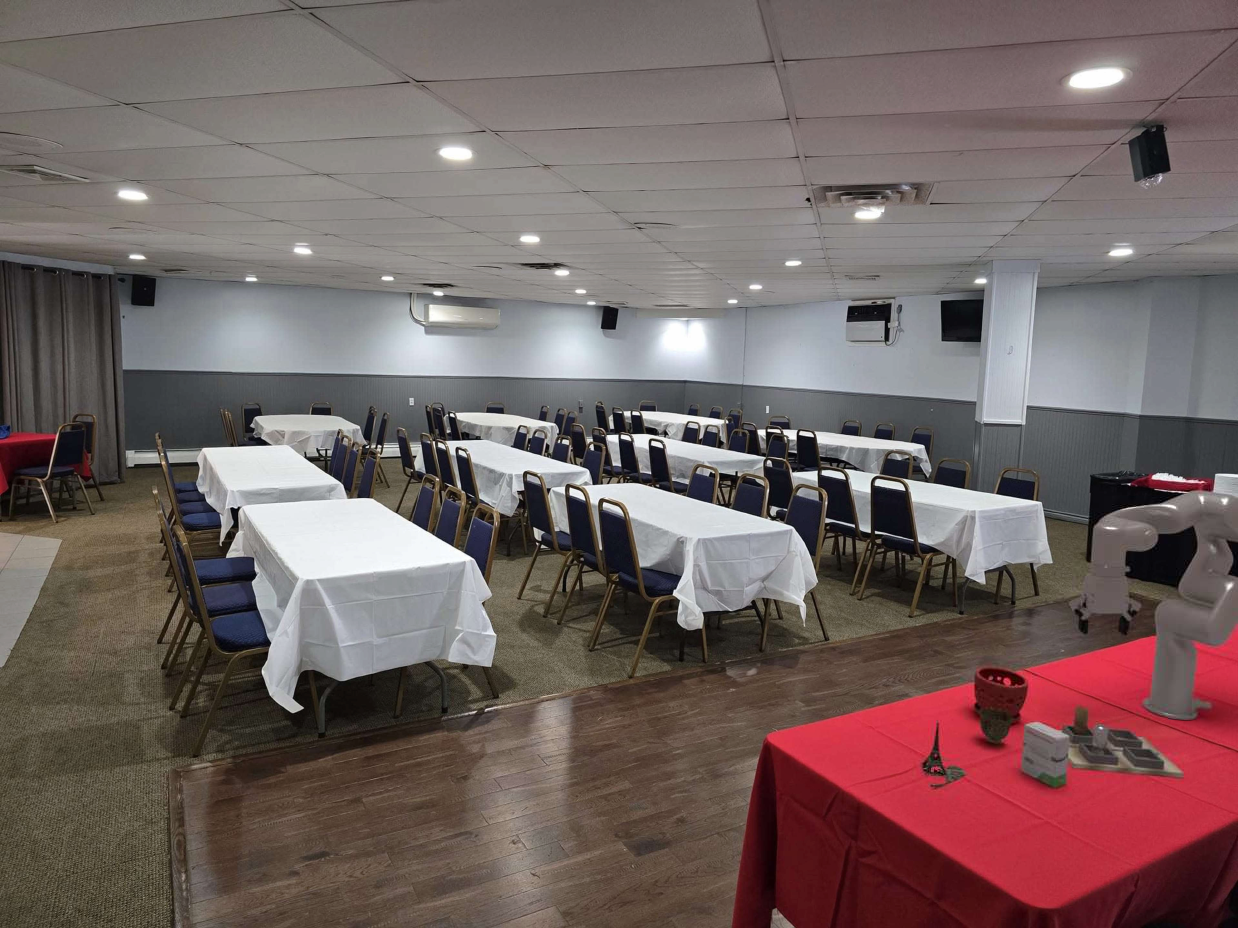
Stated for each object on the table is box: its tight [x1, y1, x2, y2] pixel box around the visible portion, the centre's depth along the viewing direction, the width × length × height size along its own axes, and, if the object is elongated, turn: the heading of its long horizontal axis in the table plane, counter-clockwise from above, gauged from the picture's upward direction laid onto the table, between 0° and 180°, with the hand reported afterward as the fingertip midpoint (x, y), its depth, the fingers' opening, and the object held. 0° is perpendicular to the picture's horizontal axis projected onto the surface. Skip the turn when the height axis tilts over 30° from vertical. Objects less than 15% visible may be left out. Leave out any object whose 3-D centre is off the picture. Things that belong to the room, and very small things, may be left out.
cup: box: [979, 707, 1012, 746], centre depth 198 cm, size 8×7×8 cm
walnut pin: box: [1073, 705, 1090, 736], centre depth 199 cm, size 3×3×8 cm
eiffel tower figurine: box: [920, 721, 967, 790], centre depth 183 cm, size 15×10×13 cm
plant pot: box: [973, 666, 1029, 724], centre depth 213 cm, size 13×13×12 cm
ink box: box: [1020, 721, 1070, 789], centre depth 181 cm, size 9×5×12 cm, turn 26°
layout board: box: [1056, 723, 1184, 779], centre depth 193 cm, size 24×18×9 cm
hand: (1102, 633), depth 206 cm, fingers open, 9 cm apart
